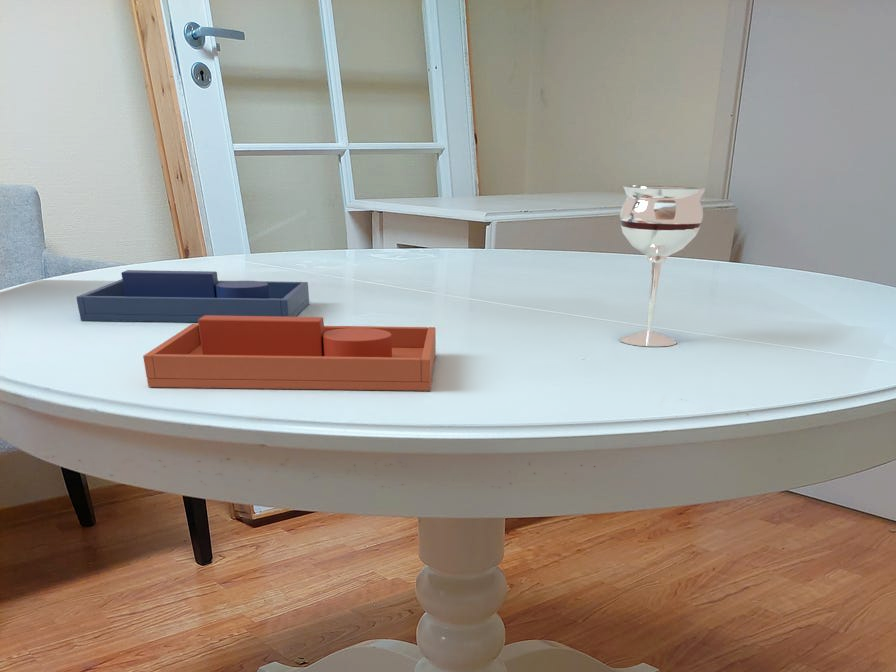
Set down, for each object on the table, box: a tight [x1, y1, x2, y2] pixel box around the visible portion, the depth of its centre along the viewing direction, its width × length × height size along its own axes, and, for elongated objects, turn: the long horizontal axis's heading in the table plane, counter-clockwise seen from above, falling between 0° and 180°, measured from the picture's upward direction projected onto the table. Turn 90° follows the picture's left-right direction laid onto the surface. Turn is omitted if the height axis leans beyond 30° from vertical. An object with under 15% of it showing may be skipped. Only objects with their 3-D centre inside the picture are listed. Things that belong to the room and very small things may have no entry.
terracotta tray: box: [142, 323, 437, 392], centre depth 65 cm, size 19×12×2 cm, turn 91°
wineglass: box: [618, 185, 707, 348], centre depth 75 cm, size 7×7×12 cm
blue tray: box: [75, 278, 310, 323], centre depth 87 cm, size 19×12×2 cm, turn 91°
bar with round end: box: [197, 315, 392, 357], centre depth 65 cm, size 14×5×3 cm, turn 90°
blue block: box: [120, 269, 269, 299], centre depth 86 cm, size 14×5×3 cm, turn 91°
